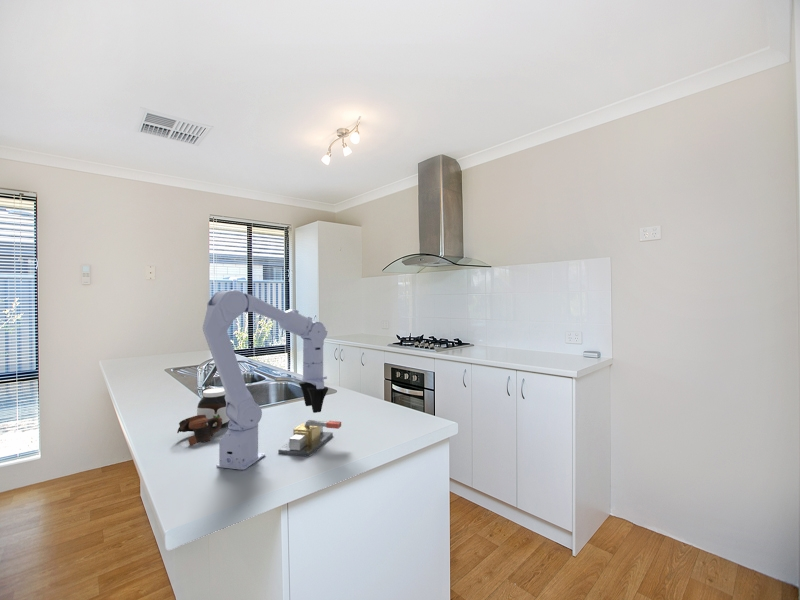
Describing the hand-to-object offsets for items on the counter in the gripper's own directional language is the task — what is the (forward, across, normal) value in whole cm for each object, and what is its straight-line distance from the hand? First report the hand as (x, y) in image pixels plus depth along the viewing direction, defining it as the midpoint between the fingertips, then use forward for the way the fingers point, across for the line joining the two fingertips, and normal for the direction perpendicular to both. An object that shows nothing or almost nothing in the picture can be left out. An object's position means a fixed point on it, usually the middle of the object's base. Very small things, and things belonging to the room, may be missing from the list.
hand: (313, 408), depth 114 cm
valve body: (+10, -1, +2) cm, 10 cm away
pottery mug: (+10, +18, +29) cm, 36 cm away
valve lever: (+4, -4, -1) cm, 6 cm away
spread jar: (+10, +31, +23) cm, 40 cm away
